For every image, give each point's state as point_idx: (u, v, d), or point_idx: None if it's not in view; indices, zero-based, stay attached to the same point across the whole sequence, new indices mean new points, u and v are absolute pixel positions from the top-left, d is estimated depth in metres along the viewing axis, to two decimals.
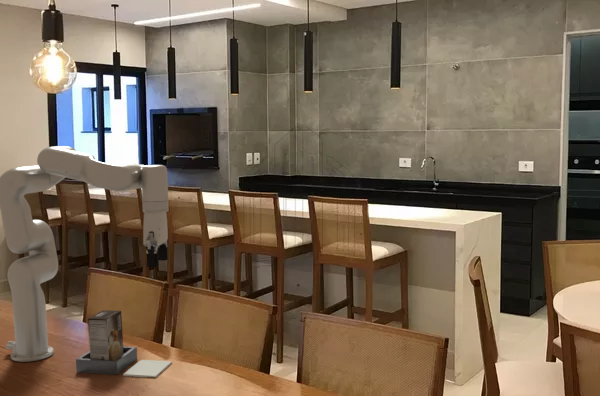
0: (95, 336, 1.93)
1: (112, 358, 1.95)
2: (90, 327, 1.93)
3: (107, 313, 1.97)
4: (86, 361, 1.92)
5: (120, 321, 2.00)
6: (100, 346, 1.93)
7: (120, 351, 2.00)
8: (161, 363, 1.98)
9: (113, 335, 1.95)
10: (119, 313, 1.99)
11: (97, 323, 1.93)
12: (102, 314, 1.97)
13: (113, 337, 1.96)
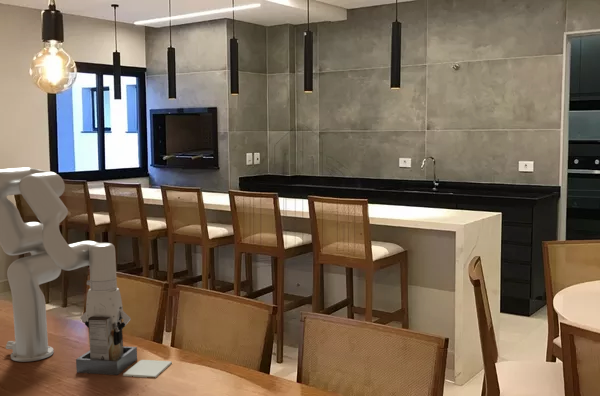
0: (95, 336, 1.93)
1: (112, 358, 1.95)
2: (90, 327, 1.93)
3: None
4: (86, 361, 1.92)
5: (120, 321, 2.00)
6: (100, 346, 1.93)
7: (120, 351, 2.00)
8: (161, 363, 1.98)
9: (113, 335, 1.95)
10: None
11: (97, 323, 1.93)
12: None
13: (113, 337, 1.96)
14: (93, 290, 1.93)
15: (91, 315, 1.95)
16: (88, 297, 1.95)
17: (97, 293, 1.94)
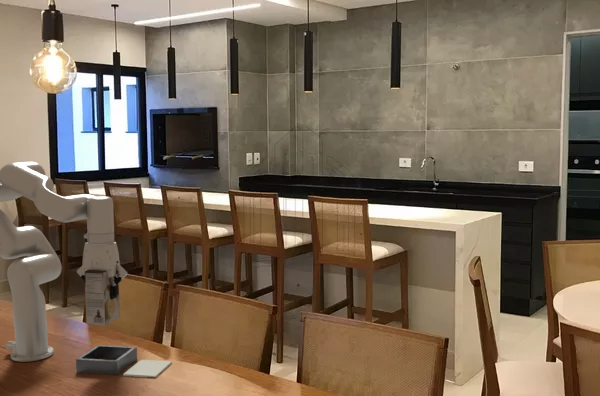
0: (92, 289, 1.92)
1: (108, 312, 1.94)
2: (86, 280, 1.92)
3: None
4: (86, 361, 1.92)
5: (117, 276, 1.99)
6: (96, 299, 1.92)
7: (116, 306, 1.98)
8: (161, 363, 1.98)
9: (109, 289, 1.94)
10: None
11: (93, 276, 1.91)
12: None
13: None
14: (90, 243, 1.92)
15: (88, 268, 1.93)
16: (85, 250, 1.93)
17: (94, 246, 1.92)
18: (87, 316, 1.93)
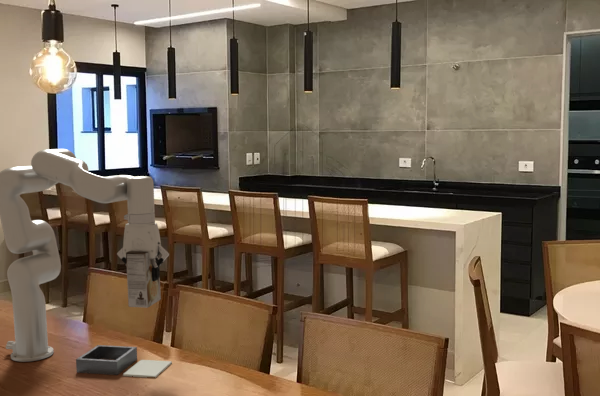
0: (133, 271, 1.87)
1: (150, 294, 1.89)
2: (128, 261, 1.87)
3: None
4: (86, 361, 1.92)
5: (158, 257, 1.94)
6: (138, 281, 1.88)
7: (157, 288, 1.94)
8: (161, 363, 1.98)
9: (151, 271, 1.89)
10: None
11: (135, 257, 1.87)
12: None
13: (151, 273, 1.90)
14: (131, 223, 1.87)
15: (129, 250, 1.89)
16: (126, 231, 1.89)
17: (135, 226, 1.88)
18: (129, 299, 1.89)
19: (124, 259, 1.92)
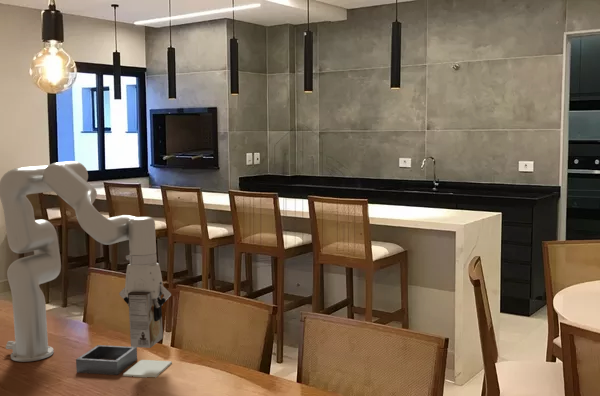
0: (136, 311, 1.89)
1: (152, 334, 1.90)
2: (130, 302, 1.89)
3: None
4: (86, 361, 1.92)
5: None
6: (140, 322, 1.89)
7: (159, 327, 1.95)
8: (161, 363, 1.98)
9: (153, 311, 1.91)
10: None
11: (137, 298, 1.88)
12: None
13: (153, 313, 1.91)
14: (133, 264, 1.89)
15: (131, 290, 1.90)
16: (128, 272, 1.90)
17: (137, 267, 1.89)
18: (131, 339, 1.90)
19: (126, 299, 1.93)
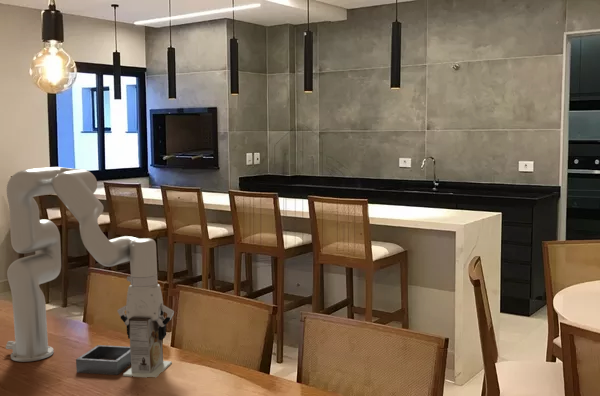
0: (136, 337, 1.90)
1: (153, 359, 1.91)
2: (131, 327, 1.90)
3: None
4: (86, 361, 1.92)
5: None
6: (141, 347, 1.90)
7: (160, 352, 1.96)
8: None
9: (153, 336, 1.92)
10: None
11: (138, 324, 1.89)
12: None
13: (154, 338, 1.92)
14: (134, 286, 1.89)
15: (132, 312, 1.91)
16: (129, 293, 1.91)
17: (138, 289, 1.90)
18: (132, 364, 1.91)
19: (123, 317, 1.94)
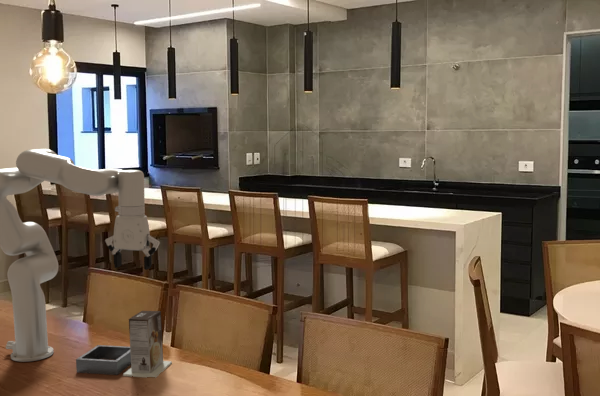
0: (136, 337, 1.90)
1: (153, 359, 1.91)
2: (131, 327, 1.90)
3: (147, 313, 1.94)
4: (86, 361, 1.92)
5: (160, 321, 1.96)
6: (141, 347, 1.90)
7: (160, 352, 1.96)
8: None
9: (153, 336, 1.92)
10: (159, 313, 1.96)
11: (138, 324, 1.89)
12: (142, 315, 1.93)
13: (154, 338, 1.92)
14: (121, 215, 1.93)
15: (118, 241, 1.95)
16: (116, 223, 1.95)
17: (125, 218, 1.94)
18: (132, 364, 1.91)
19: (110, 247, 1.98)
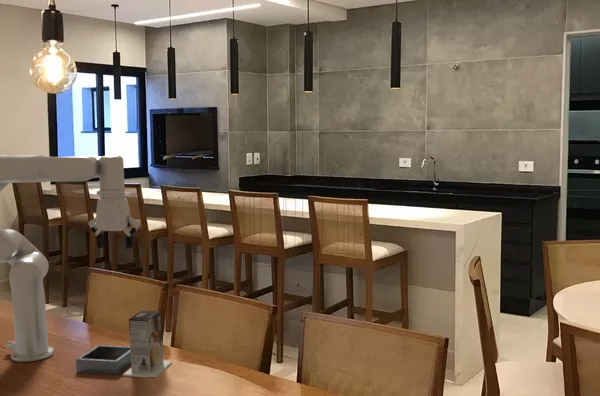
0: (136, 337, 1.90)
1: (153, 359, 1.91)
2: (131, 327, 1.90)
3: (147, 313, 1.94)
4: (86, 361, 1.92)
5: (160, 321, 1.96)
6: (141, 347, 1.90)
7: (160, 352, 1.96)
8: None
9: (153, 336, 1.92)
10: (159, 313, 1.96)
11: (138, 324, 1.89)
12: (142, 315, 1.93)
13: (154, 338, 1.92)
14: (103, 198, 2.06)
15: (101, 222, 2.07)
16: (98, 205, 2.07)
17: (106, 201, 2.06)
18: (132, 364, 1.91)
19: (93, 229, 2.10)
